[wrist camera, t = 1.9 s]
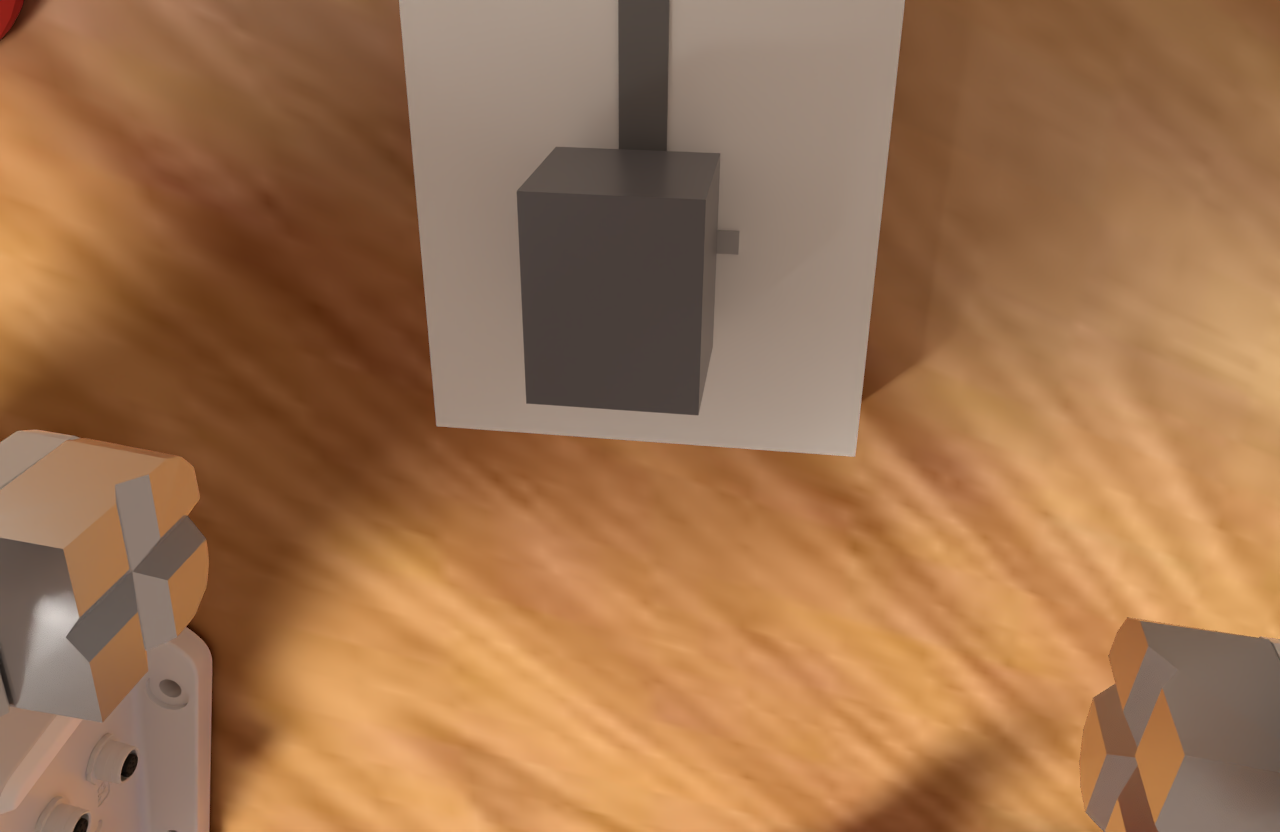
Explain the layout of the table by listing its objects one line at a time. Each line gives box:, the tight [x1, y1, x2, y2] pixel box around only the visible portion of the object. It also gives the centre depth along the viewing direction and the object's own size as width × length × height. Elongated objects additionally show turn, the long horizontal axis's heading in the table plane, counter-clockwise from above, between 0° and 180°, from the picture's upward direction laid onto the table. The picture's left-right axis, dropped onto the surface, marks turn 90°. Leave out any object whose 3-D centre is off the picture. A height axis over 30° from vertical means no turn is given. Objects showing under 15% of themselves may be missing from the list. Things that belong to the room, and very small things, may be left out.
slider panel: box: [399, 0, 905, 457], centre depth 27 cm, size 22×12×3 cm, turn 0°
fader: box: [517, 147, 720, 415], centre depth 26 cm, size 5×4×5 cm
